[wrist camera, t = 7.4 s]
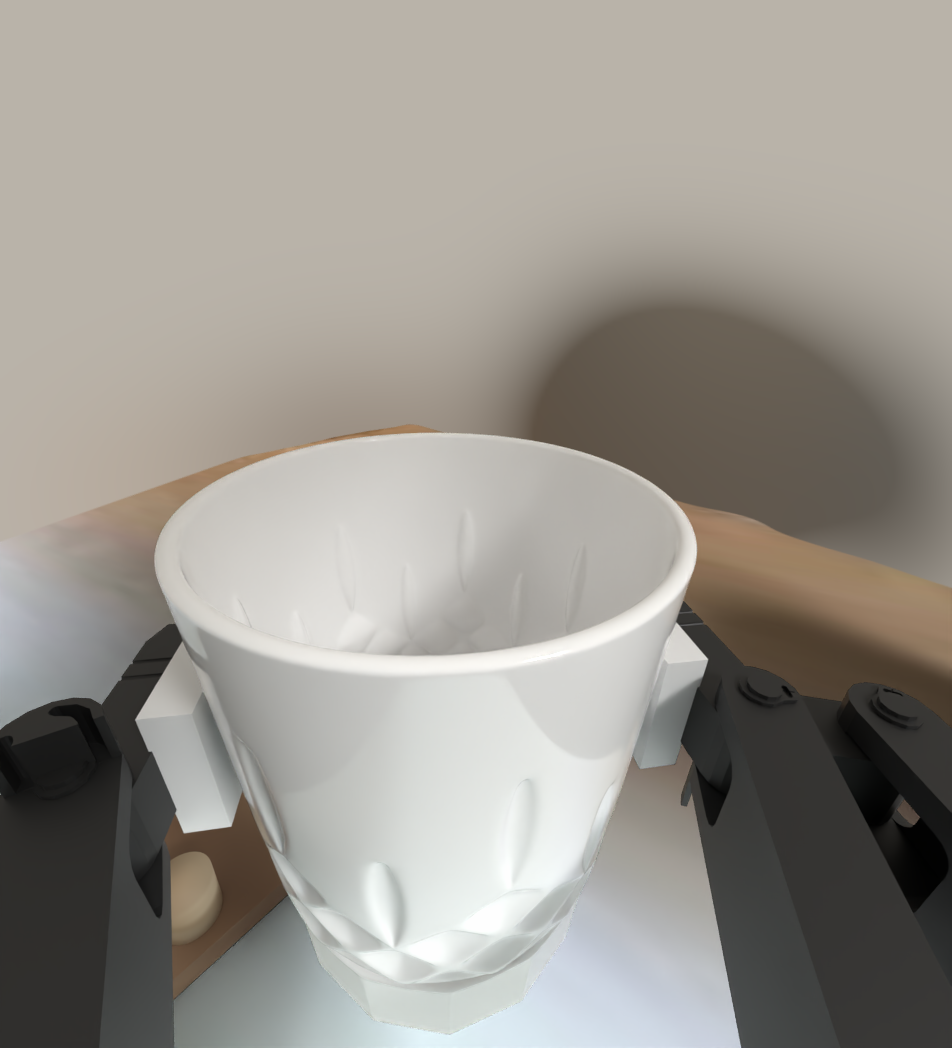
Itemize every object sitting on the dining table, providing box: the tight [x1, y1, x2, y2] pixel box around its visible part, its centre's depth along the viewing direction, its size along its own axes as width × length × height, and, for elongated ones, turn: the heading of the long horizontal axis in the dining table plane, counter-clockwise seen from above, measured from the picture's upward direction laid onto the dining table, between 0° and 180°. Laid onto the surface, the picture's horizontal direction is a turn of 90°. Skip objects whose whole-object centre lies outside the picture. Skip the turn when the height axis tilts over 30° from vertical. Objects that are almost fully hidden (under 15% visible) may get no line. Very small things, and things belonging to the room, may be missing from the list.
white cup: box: [154, 433, 697, 1035], centre depth 10 cm, size 8×8×10 cm
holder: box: [164, 791, 288, 1000], centre depth 17 cm, size 16×12×3 cm
